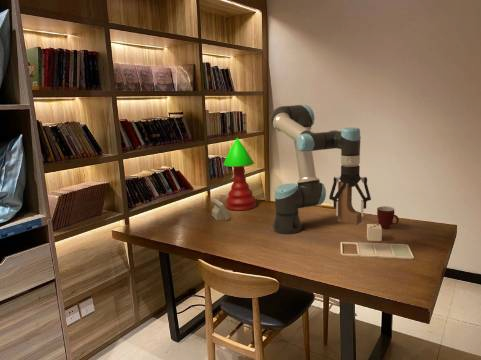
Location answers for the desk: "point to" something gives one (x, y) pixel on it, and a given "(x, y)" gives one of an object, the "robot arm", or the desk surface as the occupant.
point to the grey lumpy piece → (219, 210)
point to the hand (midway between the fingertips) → (349, 215)
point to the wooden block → (347, 206)
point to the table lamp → (239, 178)
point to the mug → (386, 217)
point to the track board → (380, 250)
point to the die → (374, 232)
